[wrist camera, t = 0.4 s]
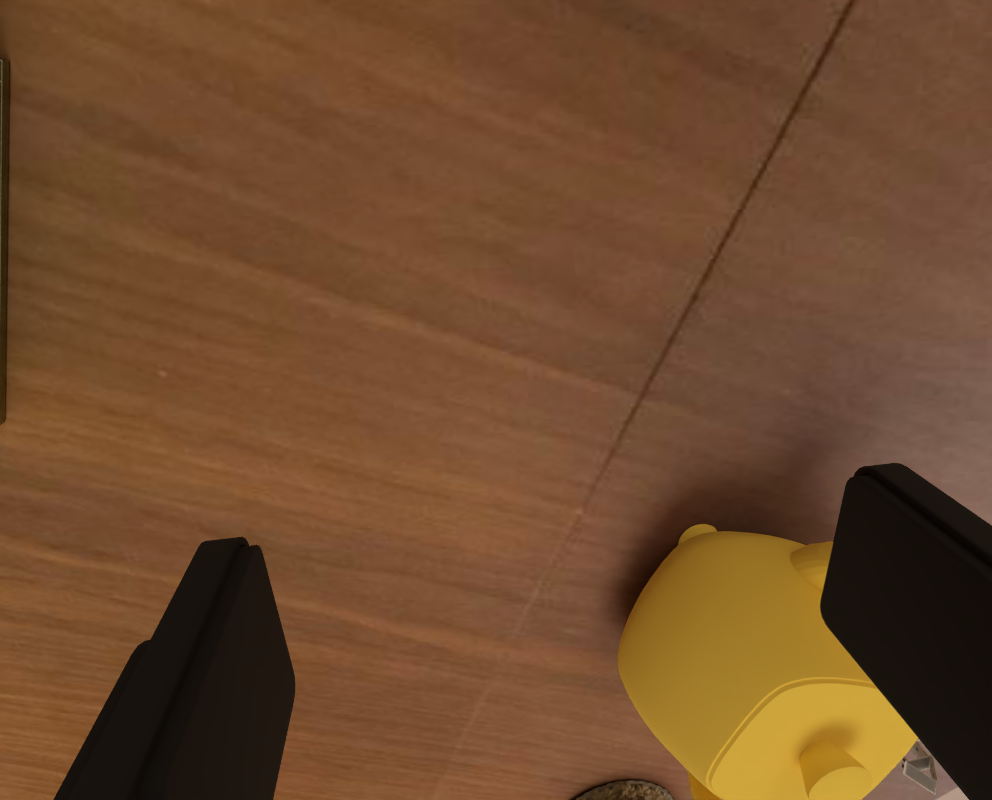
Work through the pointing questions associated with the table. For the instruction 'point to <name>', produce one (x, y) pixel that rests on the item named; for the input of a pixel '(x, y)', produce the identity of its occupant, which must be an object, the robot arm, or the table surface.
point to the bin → (3, 222)
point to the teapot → (755, 674)
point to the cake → (627, 791)
